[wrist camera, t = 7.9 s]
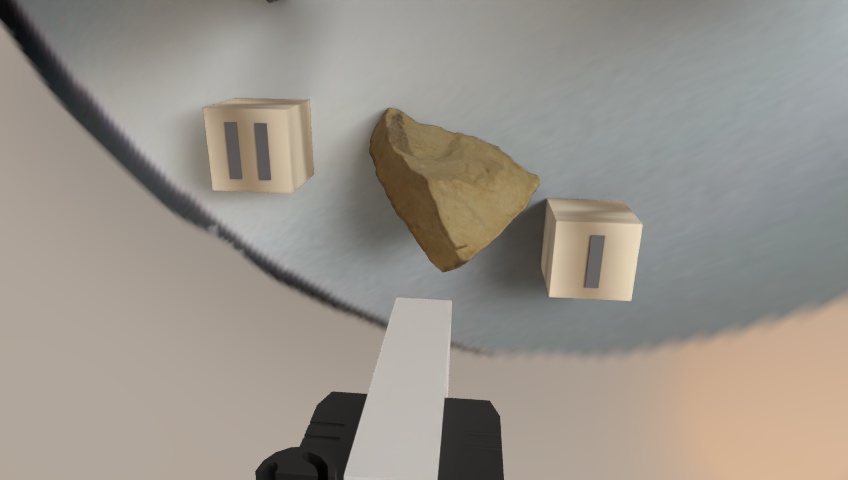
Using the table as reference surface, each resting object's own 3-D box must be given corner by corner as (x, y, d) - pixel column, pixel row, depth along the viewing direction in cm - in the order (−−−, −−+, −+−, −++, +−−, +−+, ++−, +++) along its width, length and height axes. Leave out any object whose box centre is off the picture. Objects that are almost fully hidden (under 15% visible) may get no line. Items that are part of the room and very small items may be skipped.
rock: (318, 147, 37) (399, 280, 38) (357, 106, 29) (456, 275, 30) (447, 79, 41) (515, 200, 42) (511, 26, 33) (593, 177, 34)
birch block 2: (622, 200, 38) (643, 224, 34) (613, 269, 40) (631, 301, 35) (546, 197, 39) (556, 221, 34) (540, 266, 41) (549, 297, 36)
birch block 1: (310, 99, 38) (286, 110, 33) (314, 173, 40) (291, 193, 35) (236, 98, 38) (201, 108, 33) (243, 171, 40) (211, 191, 35)
